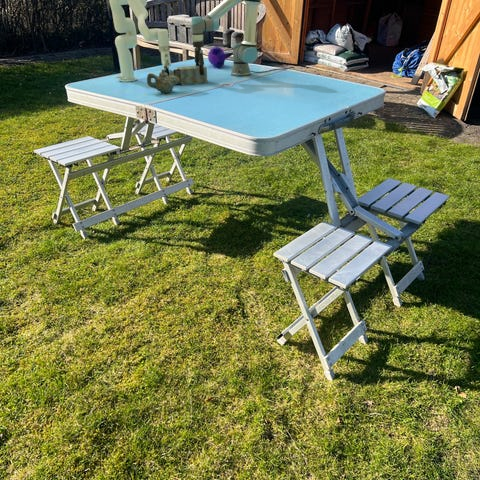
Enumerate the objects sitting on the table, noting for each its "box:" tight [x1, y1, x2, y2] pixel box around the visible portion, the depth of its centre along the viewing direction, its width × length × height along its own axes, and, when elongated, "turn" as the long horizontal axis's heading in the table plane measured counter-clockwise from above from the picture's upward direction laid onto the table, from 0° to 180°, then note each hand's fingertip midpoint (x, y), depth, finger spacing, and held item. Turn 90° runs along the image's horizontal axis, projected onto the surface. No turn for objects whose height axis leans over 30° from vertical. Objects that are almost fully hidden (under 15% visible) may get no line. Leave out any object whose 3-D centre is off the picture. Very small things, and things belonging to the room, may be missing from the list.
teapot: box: [146, 68, 179, 94], centre depth 299 cm, size 21×12×15 cm, turn 109°
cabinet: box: [176, 65, 208, 86], centre depth 328 cm, size 19×10×11 cm, turn 109°
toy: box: [207, 46, 233, 69], centre depth 382 cm, size 16×18×27 cm
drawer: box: [167, 68, 181, 84], centre depth 325 cm, size 24×9×9 cm, turn 109°
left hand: (167, 76), depth 322 cm, fingers closed
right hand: (199, 73), depth 329 cm, fingers closed on cabinet, 10 cm apart
